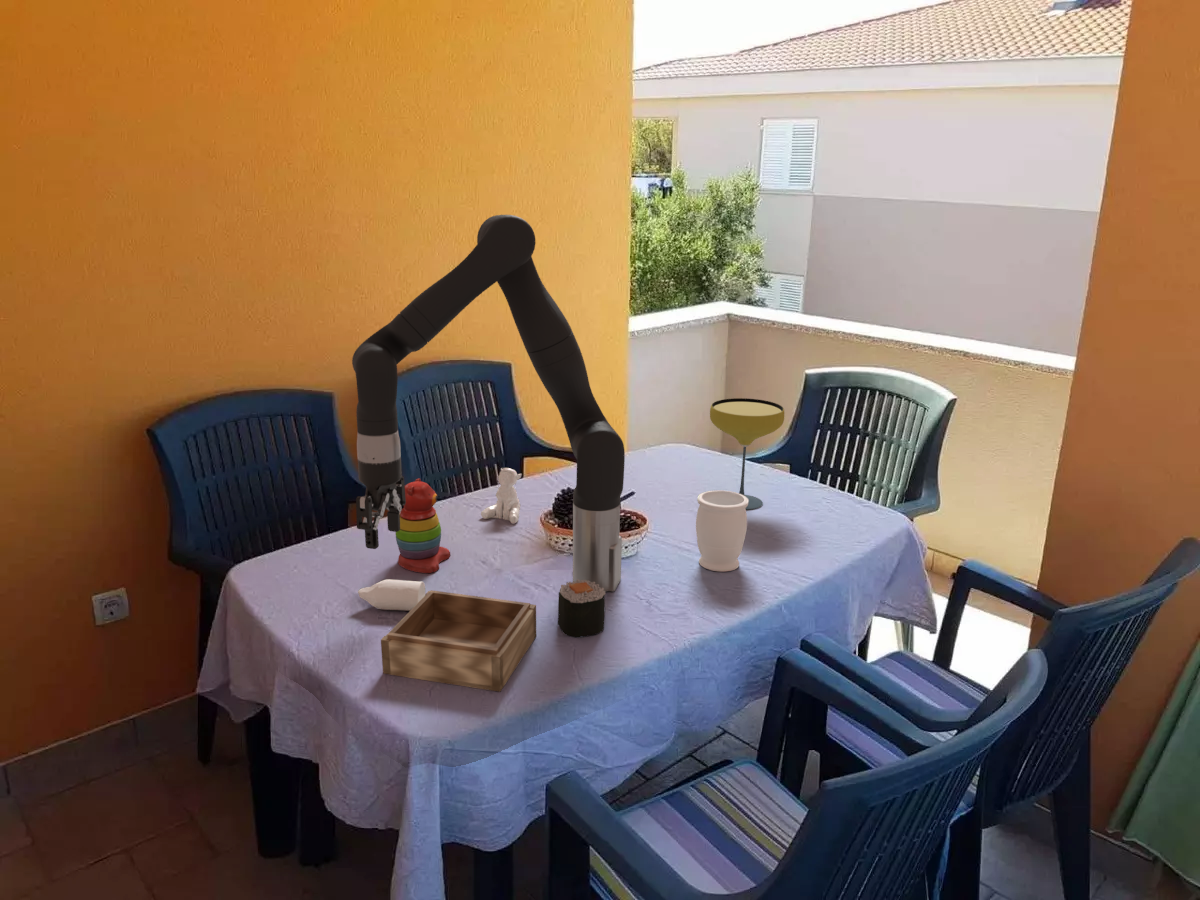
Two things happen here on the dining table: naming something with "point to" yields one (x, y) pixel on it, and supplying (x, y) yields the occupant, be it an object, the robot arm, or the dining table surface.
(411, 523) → the stacking bear
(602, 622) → the sushi
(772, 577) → the dining table surface
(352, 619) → the dining table surface
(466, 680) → the box
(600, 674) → the dining table surface
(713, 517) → the jar
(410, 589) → the roll
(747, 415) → the cocktail glass
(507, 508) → the sitting furry creature
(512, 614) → the upper crate
